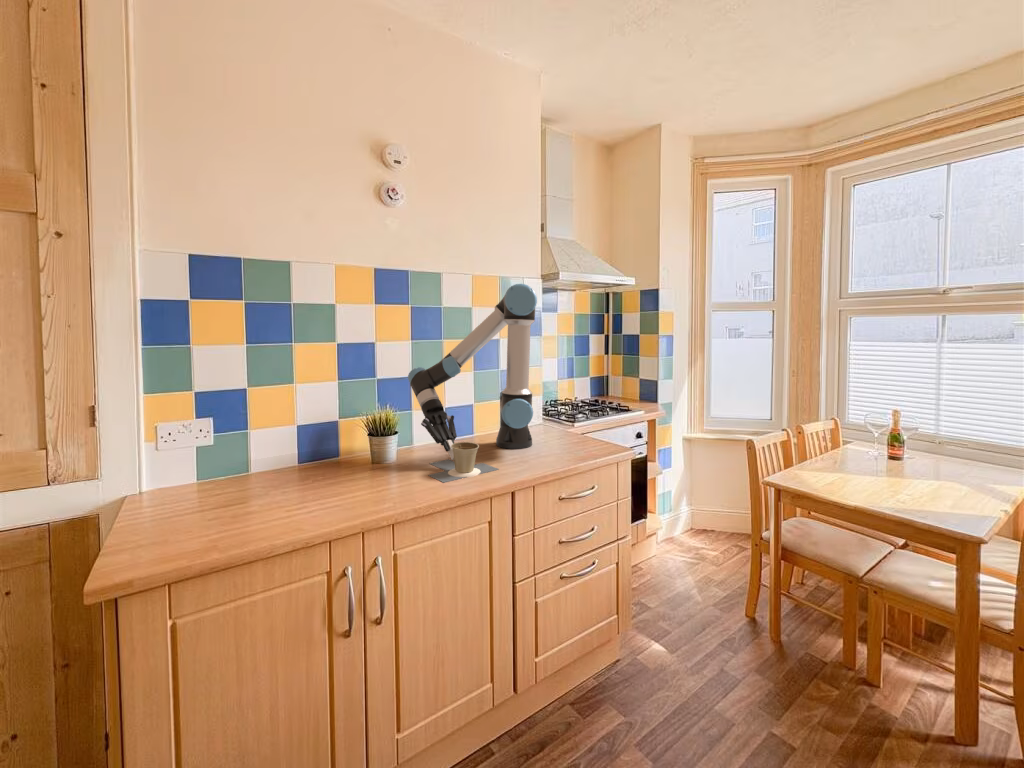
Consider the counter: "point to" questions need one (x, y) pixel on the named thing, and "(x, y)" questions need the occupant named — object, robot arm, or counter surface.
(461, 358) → the robot arm
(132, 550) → the counter surface
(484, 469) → the T mat
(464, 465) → the flower pot
